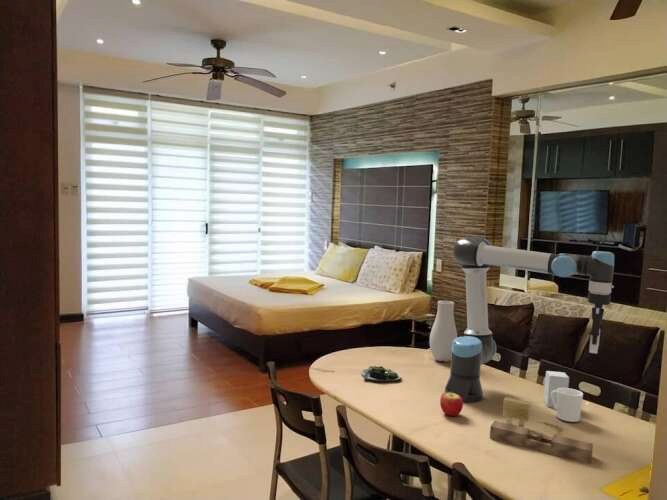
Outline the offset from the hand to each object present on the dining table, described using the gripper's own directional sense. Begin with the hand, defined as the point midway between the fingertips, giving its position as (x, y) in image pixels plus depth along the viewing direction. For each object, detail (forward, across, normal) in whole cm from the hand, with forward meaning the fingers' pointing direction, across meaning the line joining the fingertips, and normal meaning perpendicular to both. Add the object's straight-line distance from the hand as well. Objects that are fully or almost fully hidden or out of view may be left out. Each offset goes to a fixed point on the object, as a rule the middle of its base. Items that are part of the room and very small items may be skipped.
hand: (594, 349), depth 194 cm
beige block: (+26, -27, +22) cm, 43 cm away
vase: (+27, +38, +68) cm, 82 cm away
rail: (+26, -40, +12) cm, 49 cm away
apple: (+26, -31, +44) cm, 60 cm away
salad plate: (+27, -7, +82) cm, 87 cm away
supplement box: (+26, +4, +12) cm, 29 cm away
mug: (+26, -9, +7) cm, 28 cm away
